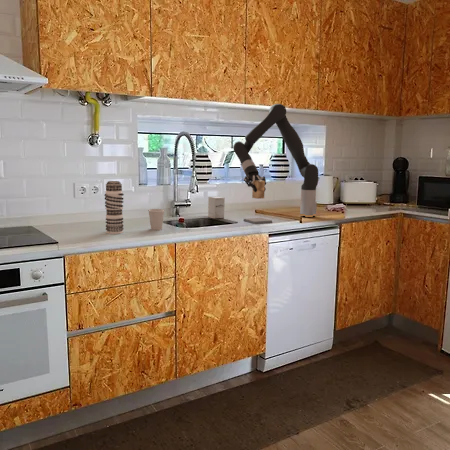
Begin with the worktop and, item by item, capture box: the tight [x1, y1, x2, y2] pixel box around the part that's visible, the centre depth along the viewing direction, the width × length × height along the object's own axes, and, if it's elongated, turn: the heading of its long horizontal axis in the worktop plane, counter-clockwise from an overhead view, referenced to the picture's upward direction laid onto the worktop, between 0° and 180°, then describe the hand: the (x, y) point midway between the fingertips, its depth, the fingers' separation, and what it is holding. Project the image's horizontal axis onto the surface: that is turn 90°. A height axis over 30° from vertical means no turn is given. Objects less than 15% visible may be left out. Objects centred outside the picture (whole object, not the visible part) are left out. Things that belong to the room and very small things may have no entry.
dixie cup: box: [148, 208, 166, 231], centre depth 240 cm, size 8×8×10 cm
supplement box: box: [207, 196, 225, 220], centre depth 284 cm, size 7×7×13 cm
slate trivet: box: [243, 217, 273, 225], centre depth 272 cm, size 12×12×1 cm
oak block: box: [252, 180, 266, 199], centre depth 269 cm, size 5×5×10 cm
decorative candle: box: [104, 180, 125, 235], centre depth 227 cm, size 9×9×25 cm
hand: (260, 191), depth 267 cm, fingers closed on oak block, 5 cm apart
